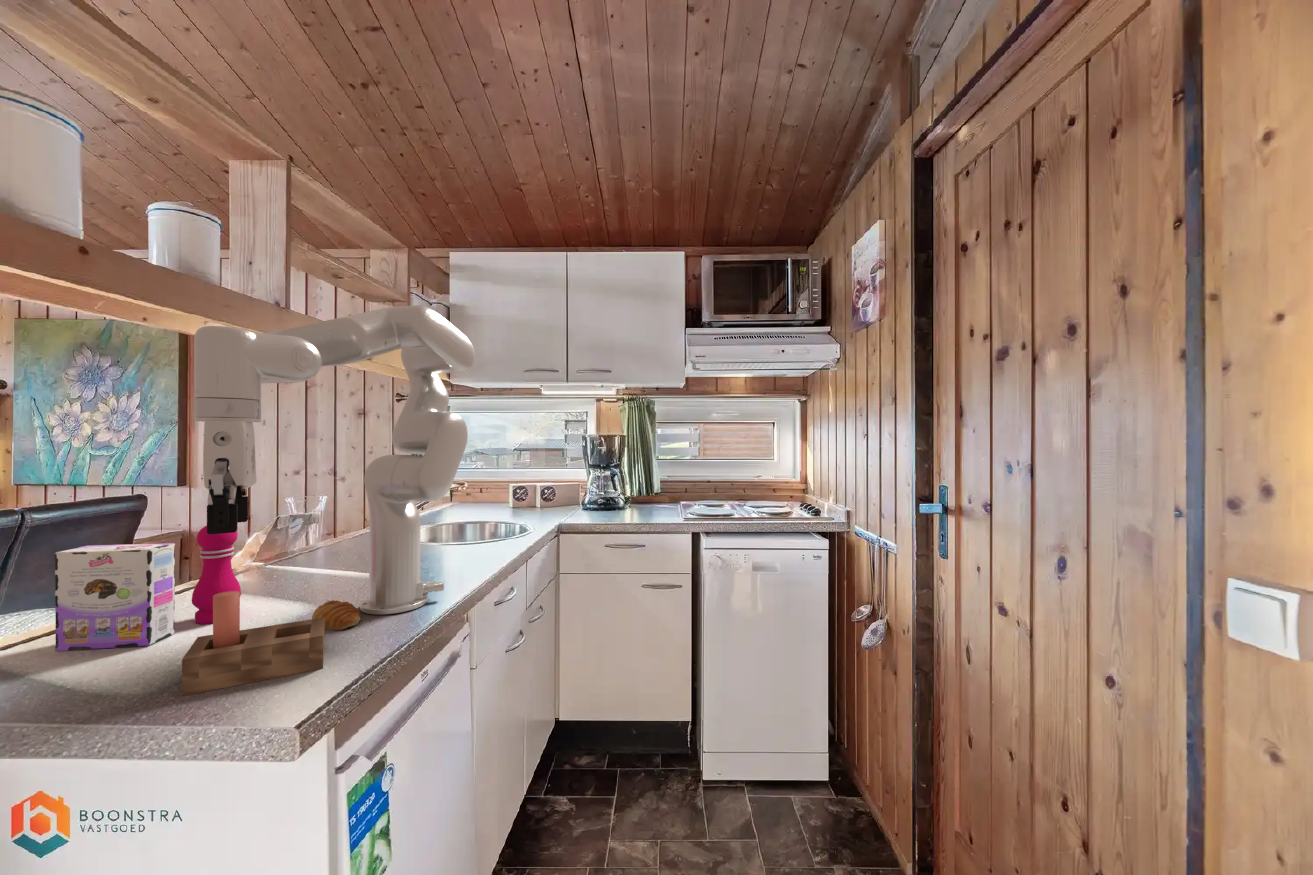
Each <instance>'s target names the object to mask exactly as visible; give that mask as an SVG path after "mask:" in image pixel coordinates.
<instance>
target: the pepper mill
mask: <svg viewBox="0 0 1313 875" xmlns="http://www.w3.org/2000/svg"><path fill="white" fill-rule="evenodd" d="M238 537H239V536H238V530H237V531H236V532H234V533H222V534H208V533H207V525H206V526H204V527H201V529H200V530H199V531H198V532H197V534H196V543H197V546H200V548H201V549H200V551H199V553H200V556H199V558H200V559H202V570H201V575H200V577H199V579H198V580H197V583H196V584H195V587H194V589H193V591H192V595H191V604H192V605H193V606H194V607H195V608H197V611H195V612H194V623H196V624H197V625H198V624H199V625H208V624H209V625H210V624H213V596H214V595H215V594H218V593H222V592H228V591H239V592H240V597H241V596H242V590H241V589H242V588H241V585H240V582H239V581H238V579H237V577H236V575H235V573H234V571H233V567H232V556H233V555H235V551H234V549H235V547H234V546H233V545H234V544H235V543H236V542H237V540H238Z"/></svg>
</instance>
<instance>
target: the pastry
mask: <svg viewBox="0 0 1313 875" xmlns="http://www.w3.org/2000/svg"><path fill="white" fill-rule="evenodd" d="M311 617H312V619H318V618H324V617H325V630H329V631H336V630H337V631H338V630H341V631H342V630H344V629H347V628H351V627H353V626H356V625H357V626H358V625H359V622H360V620H361V617H360V612H359V611H358V609H357V607H355V606H354V605H353V604H352V603H350V602H349V601H340V600H334V599H333V600H327V601H326V602H324V603H323V604H321V605H319V606H318V607H317V608H316V609H315V610H314V611H313V613H312V616H311Z"/></svg>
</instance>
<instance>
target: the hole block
mask: <svg viewBox="0 0 1313 875" xmlns="http://www.w3.org/2000/svg"><path fill="white" fill-rule="evenodd" d="M325 630H326V629H325V617H324V618H318V619H305V620H299V621H293V622H286V623H280V624H279V623H278V624H272V625H266V626H259V627H254V628H247V629H240V645H234V646H227V647H221V648H215V649H213V634H209V635H202V636H197V637H196V639H195V640H194V642H193V643H192V645H191V646H190V648H189V649H188V650H187V651H186V653H185V655H184V656H183V657H182V658H181V697H184V696H189V695H194V694H195V695H196V694H199V693H204V692H211V691H215V690H219V689H225V688H229V687H236V686H240V685H245V684H249V683H254V682H259V681H264V680H270V679H275V678H280V677H285V676H286V677H287V676H289V675H295V674H300V673H305V672H310V671H311V672H312V671H315V670H319V669H320V670H321V669H323V668H324V655H325V638H326V637H325V634H326V632H325Z"/></svg>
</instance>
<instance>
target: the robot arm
mask: <svg viewBox="0 0 1313 875" xmlns="http://www.w3.org/2000/svg"><path fill="white" fill-rule="evenodd" d="M193 338H194V339H193V341H194V343H193V346H194V349H193V350H194V351H193V354H194V355H193V356H194V357H193V361H194V363H193V364H194V365H193V366H194V368H193V369H194V370H193V371H194V372H193V374H194V375H193V376H194V377H193V380H194V382H193V383H194V384H193V386H194V389H193V392H194V393H193V394H194V395H193V396H194V397H193V398H194V400H193V401H194V402H193V403H194V405H193V406H194V408H193V409H194V410H193V411H194V416H193V417H194V421H193V422H204V424H203V435H202V436H203V446H202V447H203V448H202V450H203V451H202V452H203V453H202V455H203V456H202V459H203V460H202V461H203V463H202V466H203V467H202V469H203V470H202V471H203V473H202V474H203V476H202V477H203V483H204V484H203V486H204V488H205V489H206V490H208V497H207V505H206V526H207V533H208V534H222V533H234V532H236V531H237V532H238V523H246V522H248V520H249V496H248V488H251V487H252V486H253V485H255V484H256V483H257V469H256V468H257V465H256V463H257V462H256V442H255V441H256V438H255V429H254V423H261V422H262V384H297V383H302V382H307V381H309V380H311V379H313V378H314V377H316V376H317V374H318V373H319V372H320V371H321V368H322V367H333V366H345V365H350V364H355V363H360V362H364V361H366V360H367V361H368V360H370V359H373V358H375V357H378V356H381V355H385V354H387V353H390V352H391V353H392V352H394V351H396V350H397V351H398V350H400V359H401V362H402V364H403V367H404V370H405V373H406V375H407V378H408V381H409V394H408V396H407V398H406V401H405V403H404V406H403V408H402V409H401V412H400V414H399V416H398V418H397V420H396V423H395V424H394V427H393V430H392V433H391V434H392V435H391V443H392V444H393V447H394V448H395V449H396V450H398V451H399V452H401V453H404V454H386V455H382V456H378V457H376V458H375V459H374V460H372V461H371V462H370V463H369V464H368V466H367V468H366V470H365V472H364V477H363V479H364V480H363V482H364V487H365V488H364V489H365V492H366V497H367V501H368V508H369V557H368V559H369V565H368V567H369V570H368V573H369V575H368V579H369V580H368V588H369V589H368V598H366V599H364V600H362V602H360V605H359V608H360V609H359V610H360V612H362V613H365V614H368V615H392V614H393V615H394V614H399V613H405V612H410V611H413V610H416V609H418V608H421V607H422V606H424V605H426V604H427V603H428V601H429V600H428V599H429V596H428V594H429V593H433V592H434V593H438V592H444V589H445V585H444V581H438V582H436V580H433V581H428V582H425V581H423V580H422V578H421V527H422V526H421V524H422V523H421V522H422V521H421V516H420V512H419V510H418V507H417V506H416V503H415V502H423V503H424V502H425V503H426V502H430V503H431V502H436V501H437V502H438V501H439V500H442V499H443V498H444V497H445V496H446V495H447V494H448V492H449V491H450V489H451V487H452V485H453V482H454V481H455V477H456V474H457V473H458V469H459V466H460V465H461V461H462V458H463V457H464V453H465V451H466V447H467V444H468V437H469V436H468V428H467V427H468V426H467V423H466V421H465V420H464V418H463V417H462V416H460V414H458V413H456V412H454V411H447V409H448V407H449V402H450V397H449V395H450V394H449V392H448V390H447V388H446V386H445V384H444V383H443V381H442V379H441V377H440V375H439V374H459V373H464V372H467V371H468V370H470V369H471V368H472V367H473V365H474V363H475V361H476V350H475V348H474V346H473V343H472V342H471V340H470V339H469V338H468V337H467V336H466V335H465V334H464V333H463V332H462V331H461V330H460V329H459V328H457V327H456V326H455V325H454V324H452V323H451V322H450V321H449V320H448V319H446V318H445V317H444V316H442V315H441V314H440V313H439V312H437V311H435V310H434V309H433V308H430V307H429V306H425V305H417V304H416V305H405V306H403V305H402V306H391V307H389V306H388V307H383V308H379V309H374V310H370V311H365V312H361V313H356V314H352V315H347V316H343V317H341V316H340V317H337V318H332V319H326V320H322V321H319V322H318V321H317V322H314V323H310V324H305V325H299V326H296V327H289V328H285V329H284V328H283V329H278V330H273V331H270V332H265V333H259V332H257V333H256V332H254V331H251V330H249V329H245V328H240V327H235V326H233V327H232V326H225V325H224V326H223V325H207V326H202V327H199V328H198V329H197V330H196V331H195V333H194V337H193Z"/></svg>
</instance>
